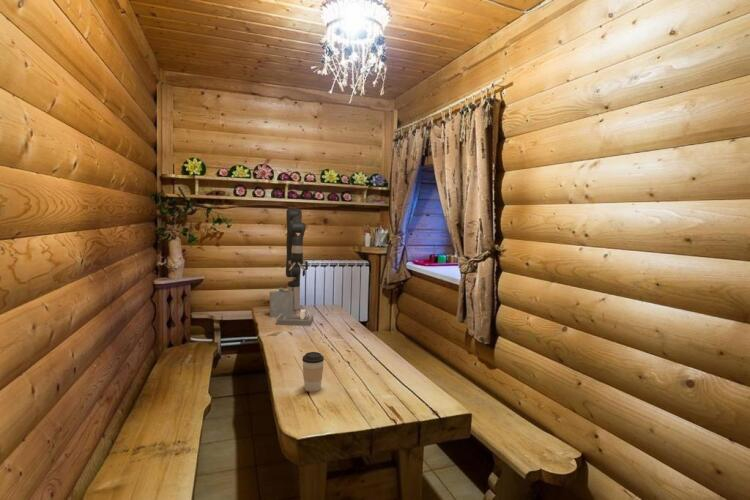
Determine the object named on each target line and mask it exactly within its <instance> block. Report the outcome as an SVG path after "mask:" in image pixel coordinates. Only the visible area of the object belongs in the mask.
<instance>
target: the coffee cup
mask: <svg viewBox="0 0 750 500" xmlns="http://www.w3.org/2000/svg"><path fill="white" fill-rule="evenodd" d="M324 360H325V358H324V356H323V355H322V353H321V352H318V351H310V352H306V353H305V354H304V355H303V356H302V360H301V361H302V374H303V384H304V388H303V389H304V391H306V392H310V393H311V392H317V391H318V392H319V391H320V390H321V389H322V380H323V371H324Z"/></svg>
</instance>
